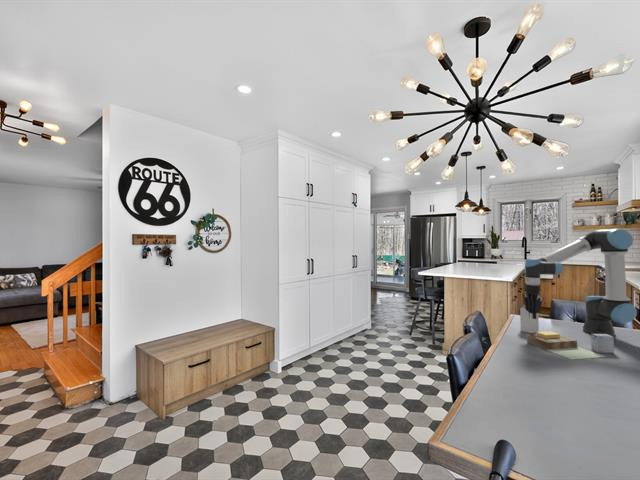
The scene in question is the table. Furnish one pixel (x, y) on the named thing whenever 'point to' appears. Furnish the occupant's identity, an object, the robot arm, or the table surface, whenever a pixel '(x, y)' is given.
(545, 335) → the yellow sponge block
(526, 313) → the milk carton
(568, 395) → the table surface
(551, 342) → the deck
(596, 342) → the medicine box
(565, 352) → the mat
